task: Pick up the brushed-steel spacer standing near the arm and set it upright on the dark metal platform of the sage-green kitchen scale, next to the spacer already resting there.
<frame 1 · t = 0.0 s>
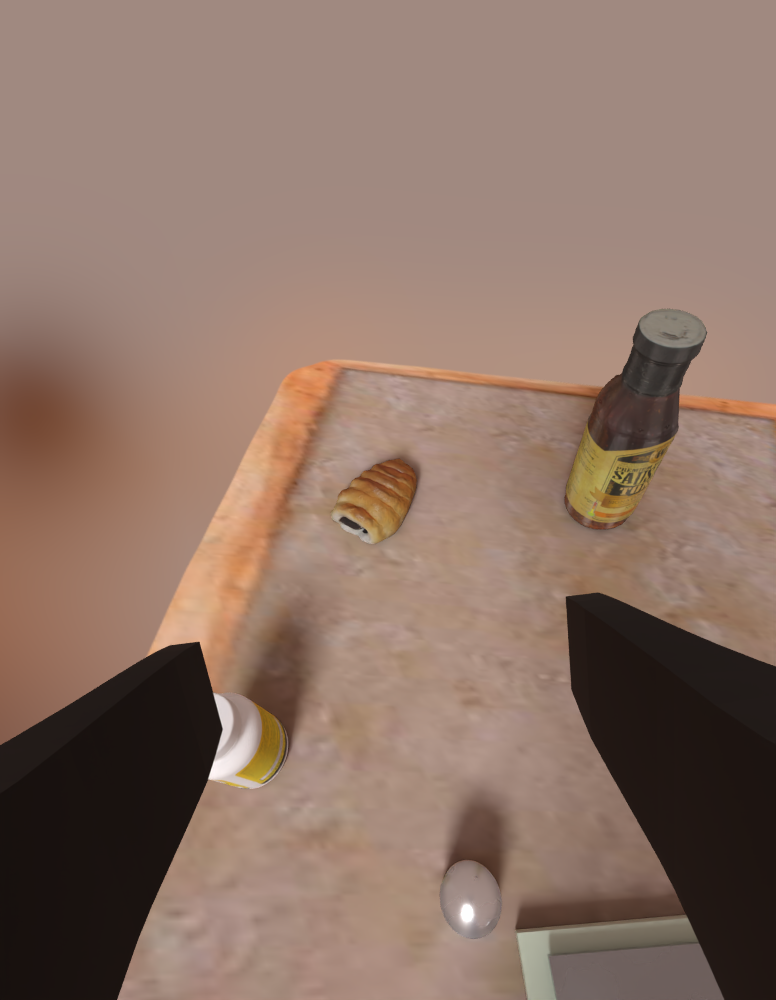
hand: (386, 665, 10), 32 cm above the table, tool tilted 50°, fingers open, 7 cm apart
spacer A: (469, 893, 33), on the table
supplement bottle: (256, 750, 40), on the table
sauce bottle: (597, 505, 48), on the table
pastry: (376, 509, 51), on the table
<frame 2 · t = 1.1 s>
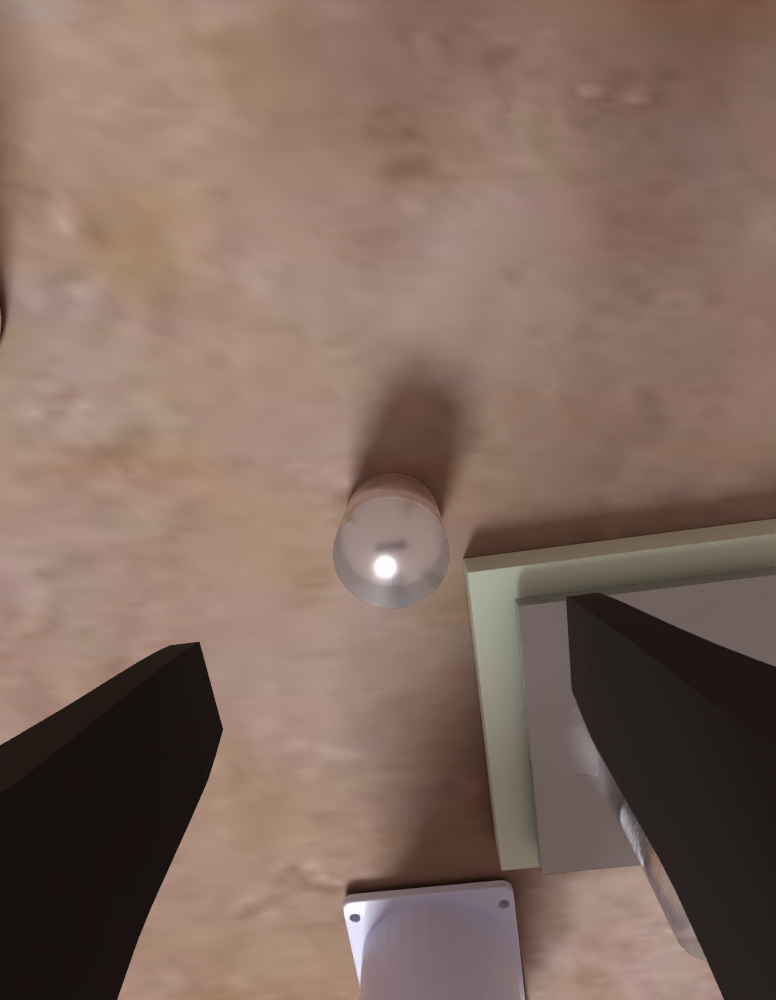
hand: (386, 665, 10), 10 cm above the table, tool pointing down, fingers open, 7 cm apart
spacer A: (392, 518, 20), on the table
scale: (647, 692, 21), on the table
scale platform: (656, 722, 20), point 2 cm above the table, slide at -0.5 cm, touching spacer B
spacer B: (667, 812, 20), point 3 cm above the table, touching scale platform
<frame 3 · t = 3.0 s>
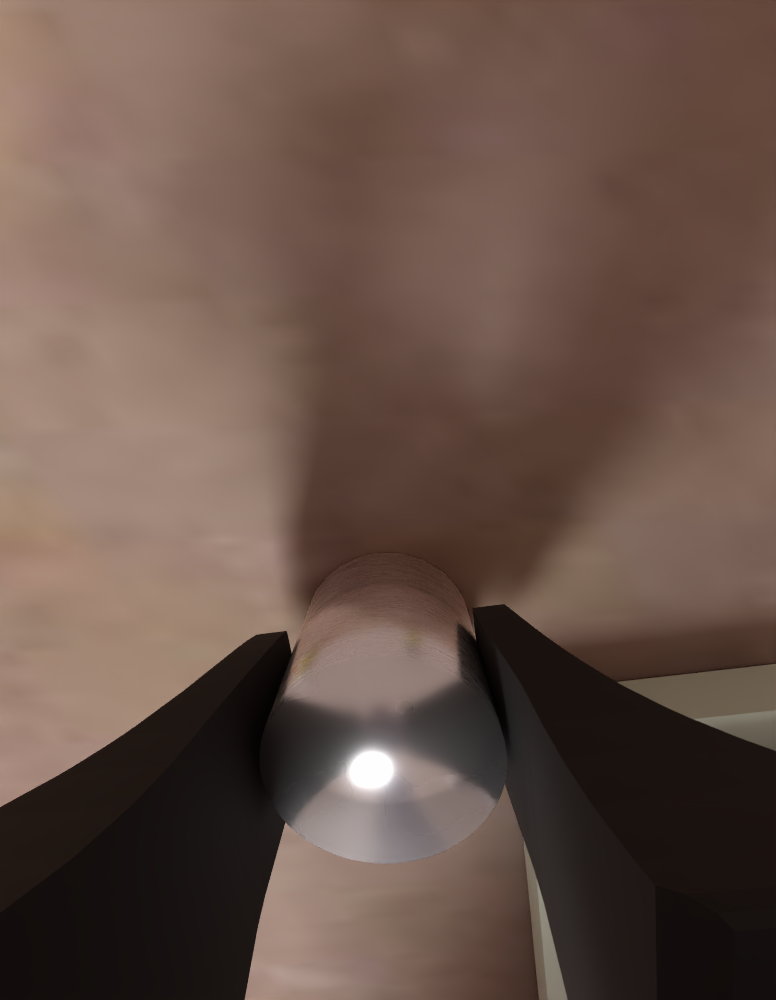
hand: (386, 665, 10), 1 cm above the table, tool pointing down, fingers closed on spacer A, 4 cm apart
spacer A: (387, 628, 11), on the table, touching gripper
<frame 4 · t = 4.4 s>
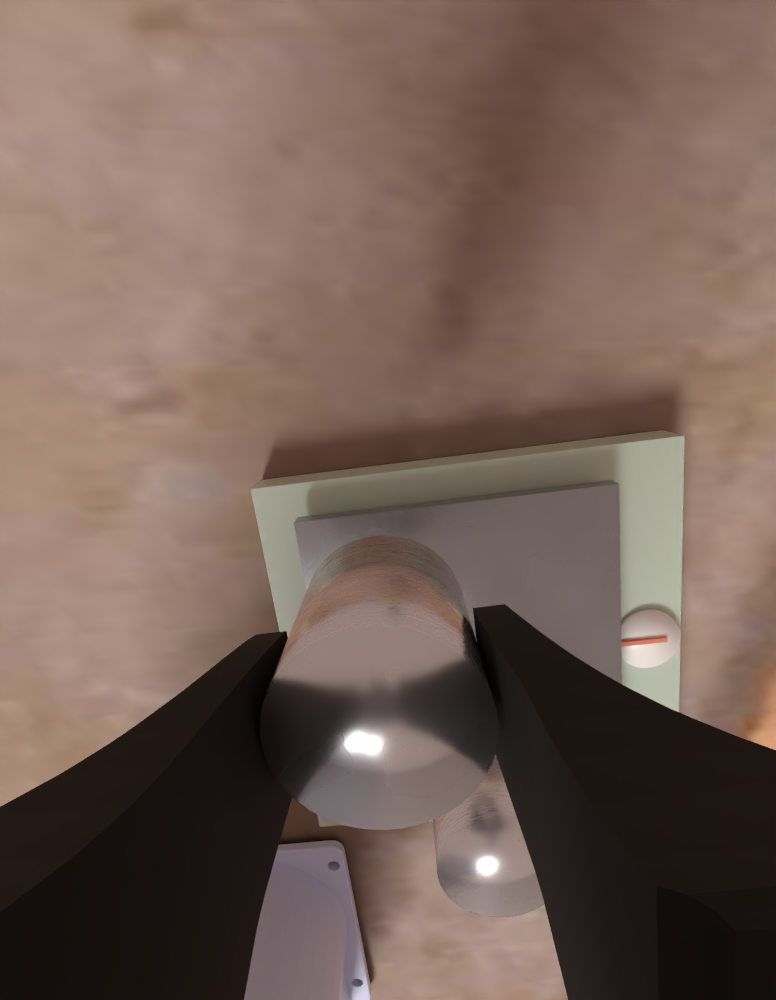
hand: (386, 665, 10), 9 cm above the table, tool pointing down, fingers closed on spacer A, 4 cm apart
spacer A: (384, 610, 12), point 7 cm above the table, touching gripper
scale: (474, 634, 19), on the table
scale platform: (467, 661, 18), point 2 cm above the table, slide at -0.5 cm, touching spacer B
spacer B: (479, 760, 18), point 3 cm above the table, touching scale platform
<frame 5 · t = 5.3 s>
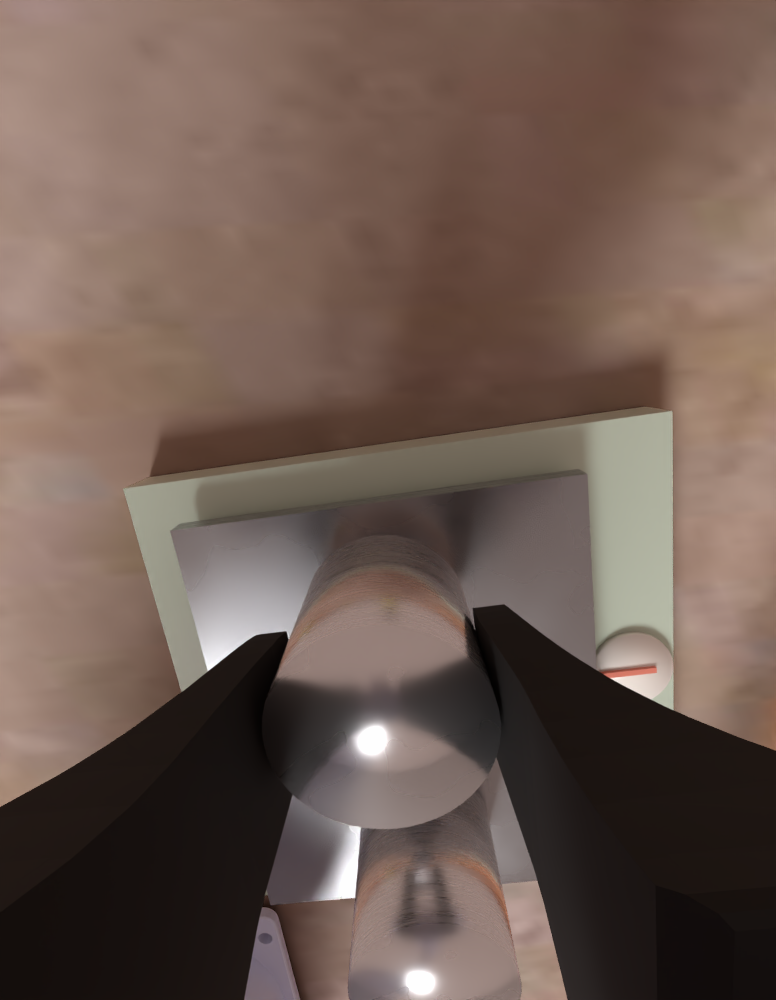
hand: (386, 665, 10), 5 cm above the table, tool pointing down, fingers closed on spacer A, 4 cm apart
spacer A: (385, 609, 12), point 4 cm above the table, touching gripper
scale: (422, 662, 16), on the table
scale platform: (407, 699, 14), point 2 cm above the table, slide at -0.5 cm, touching spacer B
spacer B: (424, 822, 14), point 3 cm above the table, touching scale platform
when the fingers open (5 cm above the table, at t = 6.0 s): spacer A drops 1 cm, resting on scale platform.
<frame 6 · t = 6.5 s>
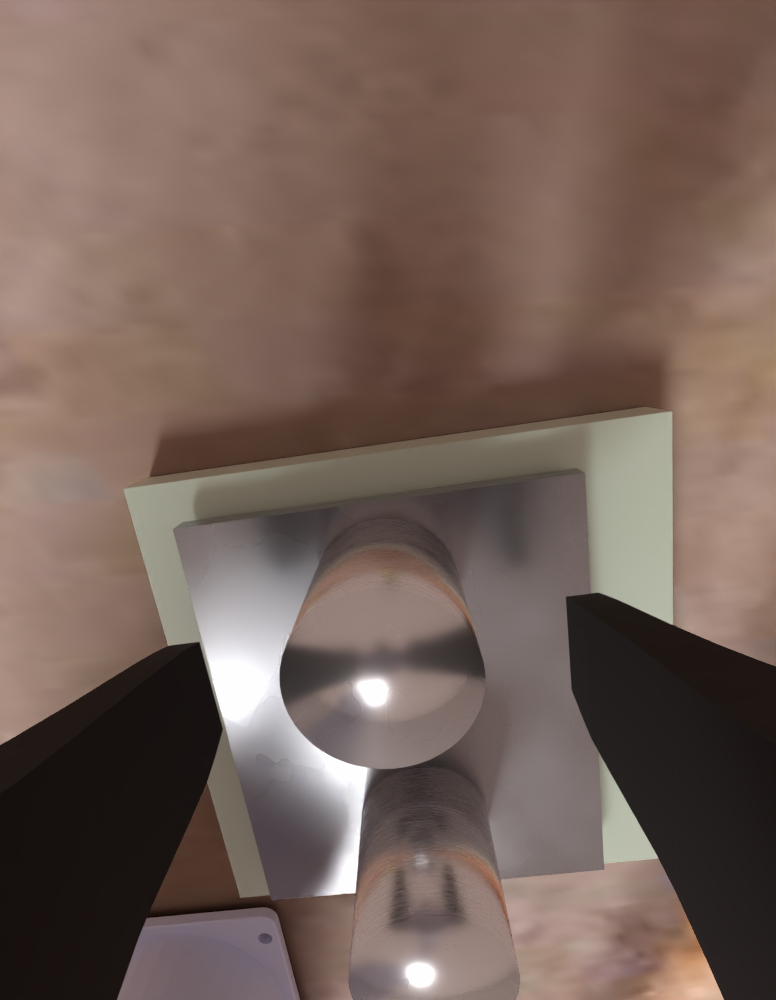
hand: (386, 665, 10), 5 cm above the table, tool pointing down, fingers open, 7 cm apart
spacer A: (386, 586, 13), point 2 cm above the table, touching scale platform
scale: (422, 662, 16), on the table
scale platform: (407, 696, 14), point 2 cm above the table, slide at -0.6 cm, touching spacer A, spacer B
spacer B: (424, 818, 15), point 2 cm above the table, touching scale platform
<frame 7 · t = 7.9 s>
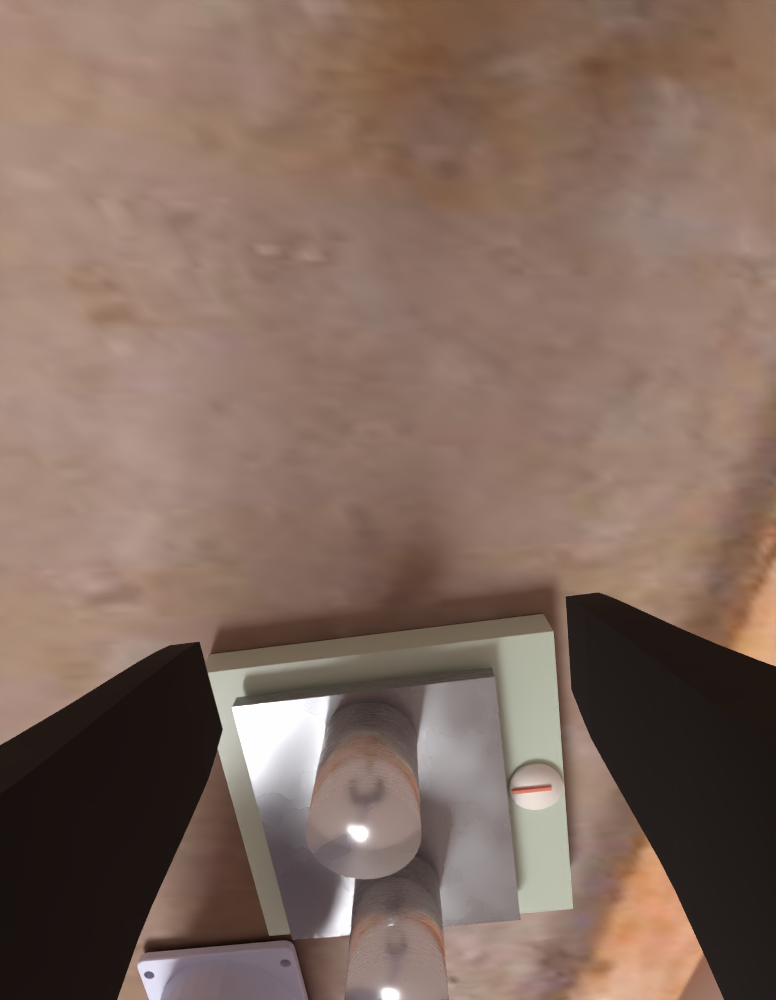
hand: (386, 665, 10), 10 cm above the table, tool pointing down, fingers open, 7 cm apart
spacer A: (370, 741, 20), point 2 cm above the table, touching scale platform
scale: (397, 773, 23), on the table
scale platform: (385, 803, 21), point 2 cm above the table, slide at -0.6 cm, touching spacer A, spacer B
spacer B: (396, 886, 21), point 2 cm above the table, touching scale platform
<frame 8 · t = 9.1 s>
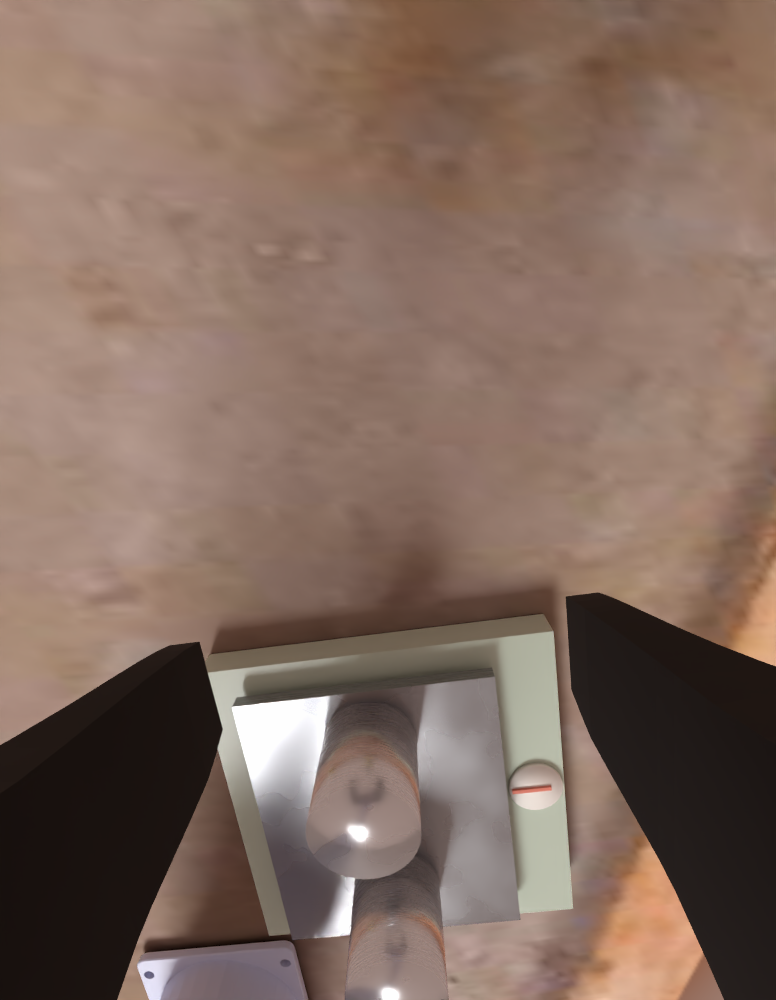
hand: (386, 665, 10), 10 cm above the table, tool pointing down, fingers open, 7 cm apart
spacer A: (370, 741, 20), point 2 cm above the table, touching scale platform
scale: (397, 773, 23), on the table
scale platform: (385, 803, 21), point 2 cm above the table, slide at -0.6 cm, touching spacer A, spacer B
spacer B: (396, 886, 21), point 2 cm above the table, touching scale platform
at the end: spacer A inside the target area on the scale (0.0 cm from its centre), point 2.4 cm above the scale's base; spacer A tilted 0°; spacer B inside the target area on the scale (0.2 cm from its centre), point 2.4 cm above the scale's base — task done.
